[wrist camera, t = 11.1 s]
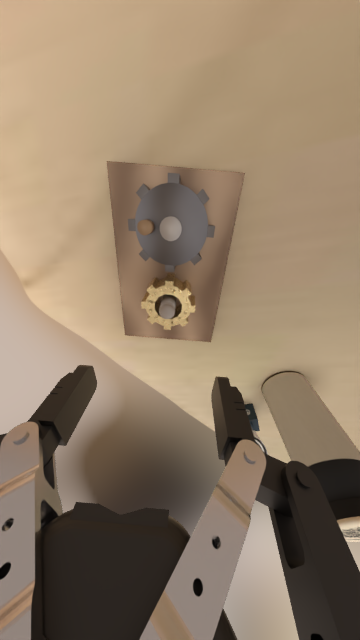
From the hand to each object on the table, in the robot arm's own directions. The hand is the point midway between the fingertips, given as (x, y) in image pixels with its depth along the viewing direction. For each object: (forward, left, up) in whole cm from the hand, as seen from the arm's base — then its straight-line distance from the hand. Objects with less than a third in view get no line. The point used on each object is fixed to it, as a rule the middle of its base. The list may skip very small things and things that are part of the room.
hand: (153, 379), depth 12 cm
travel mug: (-22, +17, -15) cm, 32 cm away
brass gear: (0, 0, -14) cm, 14 cm away
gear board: (0, -3, -15) cm, 15 cm away
